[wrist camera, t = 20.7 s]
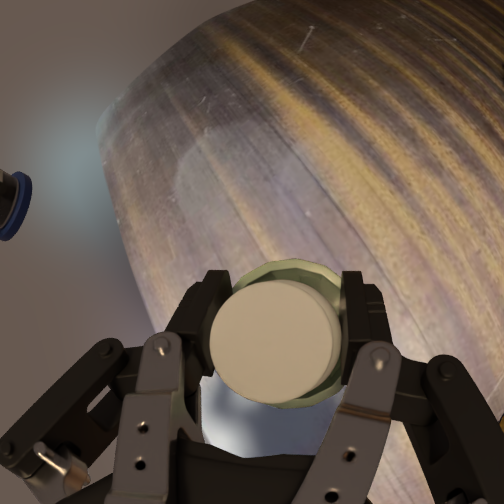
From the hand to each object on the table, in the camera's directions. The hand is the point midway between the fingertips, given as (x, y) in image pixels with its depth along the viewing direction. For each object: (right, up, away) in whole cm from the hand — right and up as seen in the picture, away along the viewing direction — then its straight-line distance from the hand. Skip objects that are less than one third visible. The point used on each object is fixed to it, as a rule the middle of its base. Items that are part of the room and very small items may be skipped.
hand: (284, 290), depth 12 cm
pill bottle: (+1, -3, +4) cm, 5 cm away
